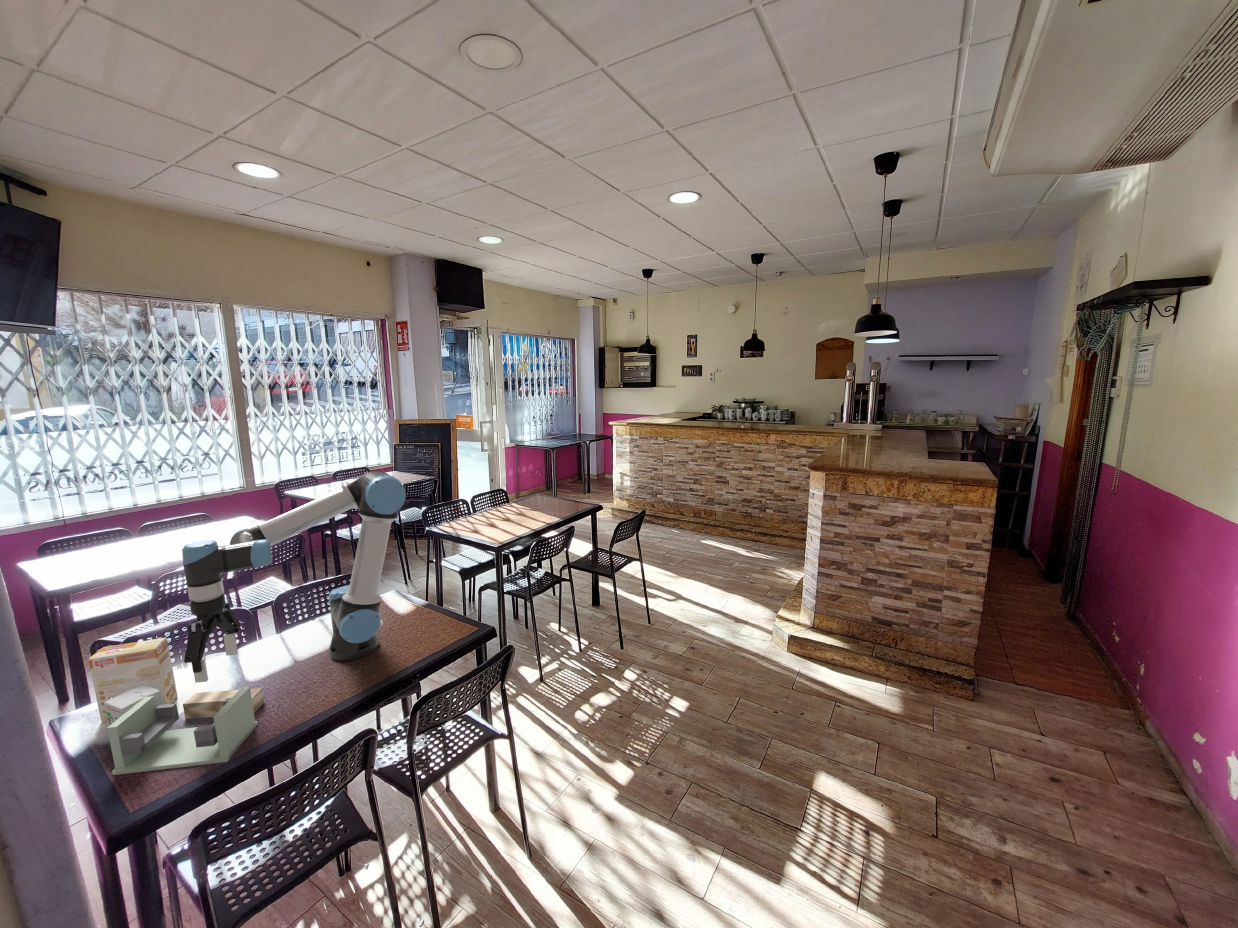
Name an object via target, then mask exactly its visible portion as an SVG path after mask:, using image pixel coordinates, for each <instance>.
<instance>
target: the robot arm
mask: <svg viewBox="0 0 1238 928" xmlns="http://www.w3.org/2000/svg"><path fill="white" fill-rule="evenodd" d="M406 496H407V495H406V490H405V487H404V485H403V484H402V482H401V481H400V480H399V479H398V478H396V477H395V476H393V475H390V474H389V473H387V472H385V471H382V470H374V471H368V472H366V473H363V474H362V475H359V476H358V477H355V478H353V479H351V480H349V481H347V482H345V483H343V484H342V485H341V488H338V489H336V490H333V491H331V492H329V493H327V494H325V495H323V496H321V497H318V498H316V499H314V500H311V501H309V502H306V503H305V504H302V505H300V506H299V507H296V508H294V509H291V510H289V511H287V512H285V513H282V514H280V515H278V516H276V517H274V518H271V519H269V520H266V521H264V522H262V523H260V524H258V525H256V526H252V527H251V528H244V529H240V530H238V531H236V532H235V533H234V534H233V535H232V537H231V539H230V541H229V544H228V545H218V542H217V541H216V540H212V539H208V540H207V539H206V540H205V539H204V540H198V541H197V540H196V541H193V542H190V543H188V544H185V546H183V548H182V549H181V554H182V565H183V571H184V576H185V582H186V586H187V587H186V588H187V593H188V599H189V600H190V601H189V608H190V613H191V614H192V615H193V616H195V617H196V622H194V623H189V624H188V626H187V627H188V628H187V630H188V633H187V634H188V635H187V639H186V642H187V643H186V645H185V646H186V647H185V653H184V657H183V662H184V663H185V664H189V663H190V664H191V667H192V671H193V672H192V673H193V676H194V677H193V678H194V681H195V683H206V682H208V681H209V676H208V675H209V674H208V670H207V665H206V663H207V661H206V657H203V656H204V653H205V650H206V647H207V643H208V640H209V638H210V637H209V636H210V635H212V633H213V630H214V629H216V627H218V628H219V629H220V630H221V631H222V632H224V634H223V642H224V650H225V656H226V657H227V656H237V655H238V654H239V652H238V646H237V637H236V633H238V632H239V631H240V628H239V627H240V622H239V621H238V619H237V617H236V616H235V614H234V612H233V611H232V609H231V606H230V603H229V602H227V601H226V597H225V593H224V592H225V588H224V583H223V577H222V574H225V573H231V572H238V571H243V570H248V569H253V568H260V567H264V566H268V565H270V564H272V562H273V554H272V548H271V547H272V546H274V545H276V544H279V543H280V542H283V541H285V540H287V539H289V538H291V537H294V536H295V535H297V534H300V533H302V532H304V531H307V530H308V529H311V528H312V527H315V526H317V525H319V524H322V523H323V522H325V521H328V520H330V519H332V518H334V517H336V516H338V515H340V514H343V513H345V512H346V511H349V510H352V509H356V510H358V515H359V516H360V517H361V519H362V520H361V521H362V522H361V525H360V530H359V531H360V532H359V536H358V541H357V547H356V551H355V557H354V562H353V567H352V572H351V577H350V583H349V584H348V585H344V586H340V587H337V588H334V589H333V590H331V591H330V592H329V594H328V602H329V608H330V618H331V619H330V620H331V625H332V626H331V627H332V637H331V640H330V644H329V648H328V649H329V650H328V653H329V657H330V659H332V660H334V661H339V662H342V661H343V662H345V661H353V660H357V659H361V658H363V657H366V656H367V655H369V654H371V653H372V652H374V651H375V650H376V649H377V648H378V646H379V639H378V636H377V634H378V632H379V631H380V628H381V625H382V621H381V615H380V614H379V613H380V610H381V609H380V608H381V604H382V603H381V602H382V596H381V595H380V594H379V593H378V591H379V588H380V582H381V577H382V572H383V568H384V562H385V557H386V553H387V552H386V551H387V548H388V547H387V546H388V541H389V537H390V532H391V527H392V522H394V521H396V520H398V517H399V511H400V509H401V508H402V507H403V506H404V503H405V501H406Z"/></svg>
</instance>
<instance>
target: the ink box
mask: <svg viewBox="0 0 1238 928" xmlns="http://www.w3.org/2000/svg"><path fill="white" fill-rule="evenodd" d="M149 696H154V699H155V704H156V707H158V706H159V705H163V703H162V698H161V693H160V690H157V689H154V688H151V687H148V686H145V685H139V686H137V687H135V688H133V689H131V690H129V691H127V692H125V693H122V694H120V695H118V696H116V697H114V698H112V699H109V700H107V701H105V702H104V706H105V711H106V716H107V721H106V722H107V726H108V727H109V726H110V725H111V724H112V723H114V722H115V721H116V720H117V719H119V718H120V717H121V716H122V715H124V714H125V713H126V712H127V711H128V710H130V709H131V708H132V707H133V706H135V705H136V704H137V703H138V702H140V701H141V700H142V699H143V698H145V697H149Z"/></svg>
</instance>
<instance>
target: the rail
mask: <svg viewBox="0 0 1238 928" xmlns="http://www.w3.org/2000/svg"><path fill="white" fill-rule="evenodd" d="M239 690H240V689H233V690H232V689H230V690H217V691H205V692H204V691H202V692H195V693H193V694H192V696H190V697H189V698H188V699H186V700H185V701H184V702H183V703H182V708H183V712H184V718H185V720H192V719H201V718H202V719H203V718H214V716H215V715H216V714H217V713H218V712H219V711H220V710H221V709H222V707H223V701H224V700H225V699H226V698H232V697H233V696H234V695H235V694H236V693H237V692H238V691H239ZM250 691H251V698H252V704H253V711H254V714H255V713H256V712H257V711H259V709H260V708H261V706H263V705H264V703H265V700H264V692H263V688H262V687H257V688H250Z"/></svg>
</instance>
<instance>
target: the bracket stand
mask: <svg viewBox="0 0 1238 928" xmlns="http://www.w3.org/2000/svg"><path fill="white" fill-rule="evenodd" d="M250 689H251V686H245V687H244V686H243V687H240V688H239V689H238V690H239V691H238V692H237V693H236V694H235V695H234V696H233V697H232V698H226V699H225V700H224V701H223V707H222V709H221V710H220V711H219V712H218V713H217V714H216V715H215V716H214V717H213V723H211V725H207V726H205V725H204V726H197V727H185V728H177V729H169V728H170V727H172V726H173V725H174V724H175V723H176V722H177V721H178V720H179V718H180V716H179V710H178V704H177V702H176V703H175V702H173V703H172V704H164V705H159V706H158V707H156V704H155V699H154V696H149V697H145V698H143V699H142V700H141V701H140V702H138V703H137V704H136V705H135V706H133V707H132V708H131V709H130V710H128V711H127V712H126V713H125V714H124V715H122V716H121V717H120V718H119V719H117V720H116V721H115V722H114V723H112V724H111V725H110V726H108V727H106V730H107V735H108V739H109V745H110V750H111V753H112V758H113V764H114V769H113V770H112V771H111V775H112V776H116V775H117V776H118V775H126V774H127V775H128V774H135V773H142V772H150V771H151V772H152V771H159V770H160V771H161V770H168V769H177V768H186V767H194V766H196V767H197V766H202V765H212V764H221V763H228V761H230V759H231V758H232V756H234V754H235V753H236V751H238V749H239V748H240V747H241V746H242V744H243V743H244V742H245V741H246V740H247V738H248V737H249V736H250V734H251V733H252V732H253V731H254V729H255V728H256V727H257V726H258V724H259V723H258V721H257V720H256V719H255V713H254V711H253V704H252V698H251V691H250Z"/></svg>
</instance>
